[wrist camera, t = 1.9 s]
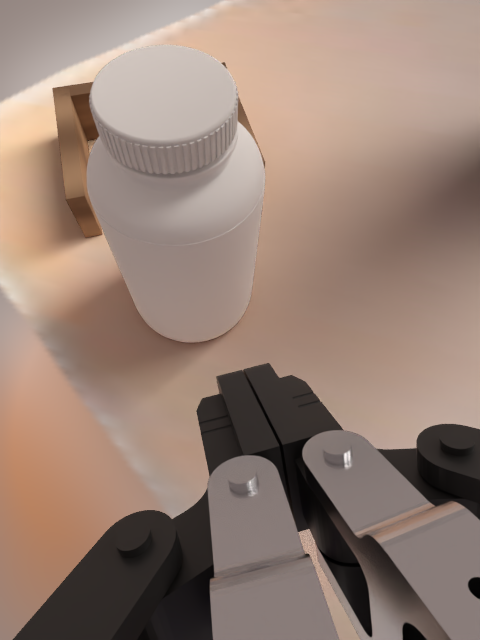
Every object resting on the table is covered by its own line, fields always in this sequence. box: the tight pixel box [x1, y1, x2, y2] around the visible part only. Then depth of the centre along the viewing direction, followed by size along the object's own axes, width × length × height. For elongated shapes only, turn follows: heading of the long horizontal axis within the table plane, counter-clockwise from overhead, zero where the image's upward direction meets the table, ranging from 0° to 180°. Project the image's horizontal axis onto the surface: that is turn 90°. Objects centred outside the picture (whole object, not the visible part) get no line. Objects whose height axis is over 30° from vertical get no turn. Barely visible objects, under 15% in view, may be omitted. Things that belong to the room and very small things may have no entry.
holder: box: [53, 62, 265, 238], centre depth 31 cm, size 11×13×4 cm
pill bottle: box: [87, 45, 265, 342], centre depth 21 cm, size 8×8×15 cm
